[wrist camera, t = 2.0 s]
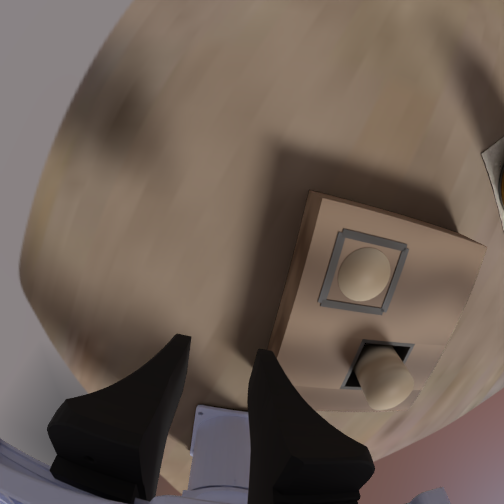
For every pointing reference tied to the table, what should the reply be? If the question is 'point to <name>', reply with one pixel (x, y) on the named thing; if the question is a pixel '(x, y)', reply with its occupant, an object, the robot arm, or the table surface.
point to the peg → (383, 376)
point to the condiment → (496, 172)
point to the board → (368, 298)
